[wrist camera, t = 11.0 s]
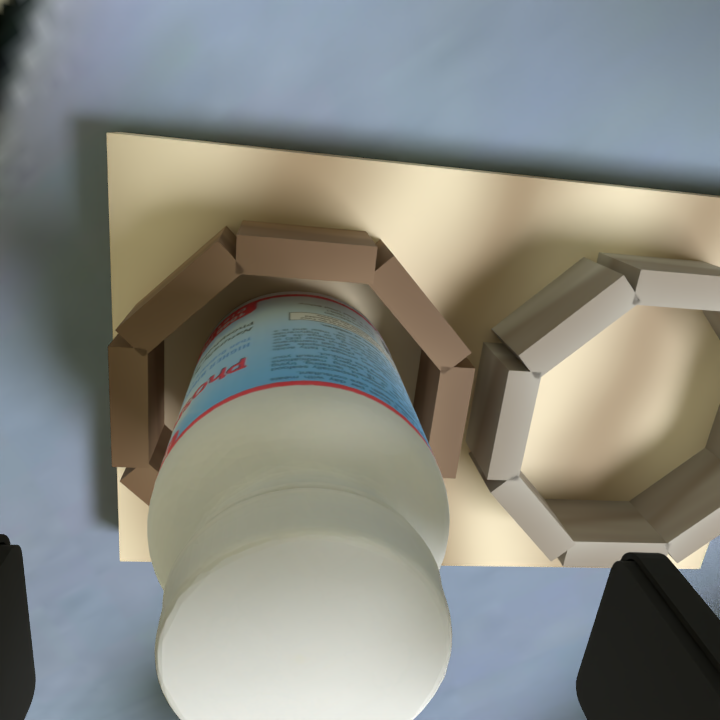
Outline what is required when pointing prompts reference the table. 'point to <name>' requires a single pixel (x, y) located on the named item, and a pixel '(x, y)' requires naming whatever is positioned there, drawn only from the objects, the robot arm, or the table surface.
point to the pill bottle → (299, 526)
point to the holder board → (472, 284)
